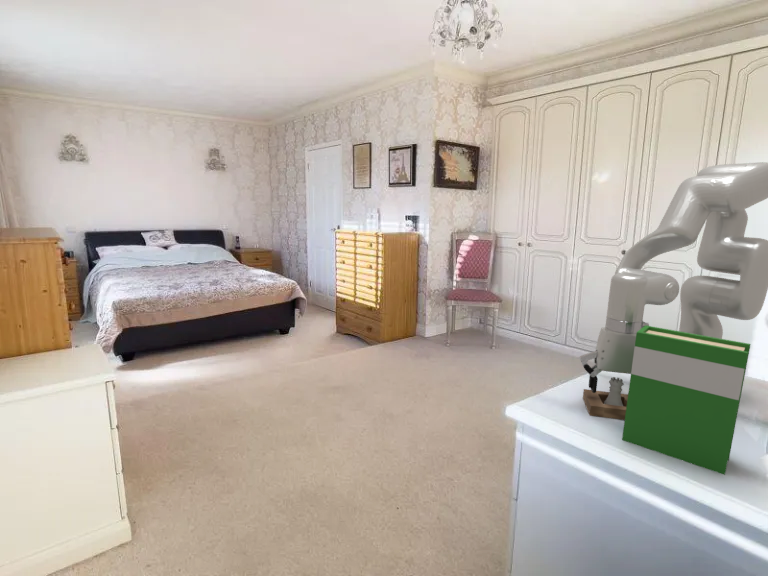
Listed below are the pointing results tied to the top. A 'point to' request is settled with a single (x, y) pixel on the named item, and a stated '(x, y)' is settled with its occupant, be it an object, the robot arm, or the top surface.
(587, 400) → the socket board
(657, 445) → the hardback book
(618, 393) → the rook chess piece
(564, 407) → the top surface
